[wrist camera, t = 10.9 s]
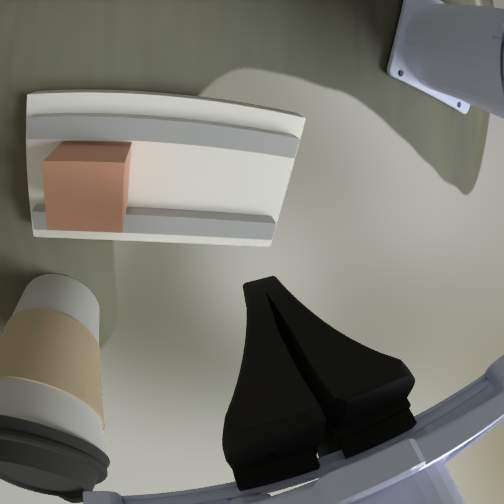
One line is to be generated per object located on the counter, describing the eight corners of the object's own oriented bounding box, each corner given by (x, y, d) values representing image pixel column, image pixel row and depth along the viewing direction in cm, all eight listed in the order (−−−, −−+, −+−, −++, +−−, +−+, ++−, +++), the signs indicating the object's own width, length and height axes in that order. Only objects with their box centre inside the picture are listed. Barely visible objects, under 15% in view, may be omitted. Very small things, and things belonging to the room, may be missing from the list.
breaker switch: (131, 142, 16) (124, 162, 13) (127, 202, 18) (121, 232, 15) (63, 140, 15) (42, 161, 12) (64, 199, 16) (47, 230, 14)
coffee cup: (-6, 296, 20) (-54, 461, 8) (55, 239, 19) (-3, 448, 7) (67, 355, 26) (58, 508, 14) (134, 315, 25) (145, 500, 13)
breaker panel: (296, 113, 19) (313, 121, 17) (264, 235, 23) (274, 255, 22) (36, 91, 14) (20, 97, 12) (40, 225, 18) (29, 245, 16)
